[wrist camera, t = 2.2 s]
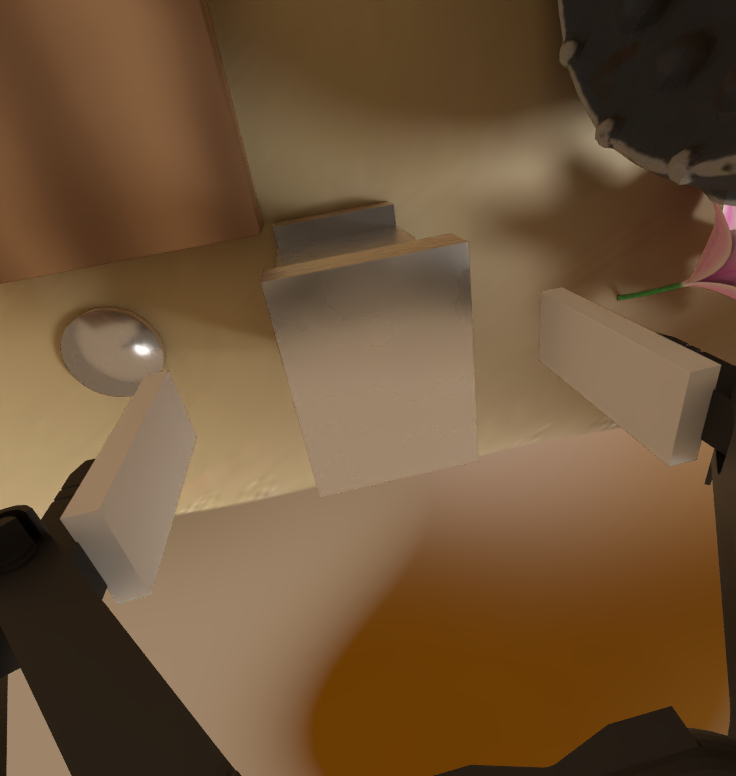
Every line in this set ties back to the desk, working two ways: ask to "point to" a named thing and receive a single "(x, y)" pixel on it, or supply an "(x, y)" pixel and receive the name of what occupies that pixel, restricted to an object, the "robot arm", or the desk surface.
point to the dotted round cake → (659, 84)
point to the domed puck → (112, 350)
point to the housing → (374, 345)
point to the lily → (711, 259)
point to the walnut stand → (115, 135)
